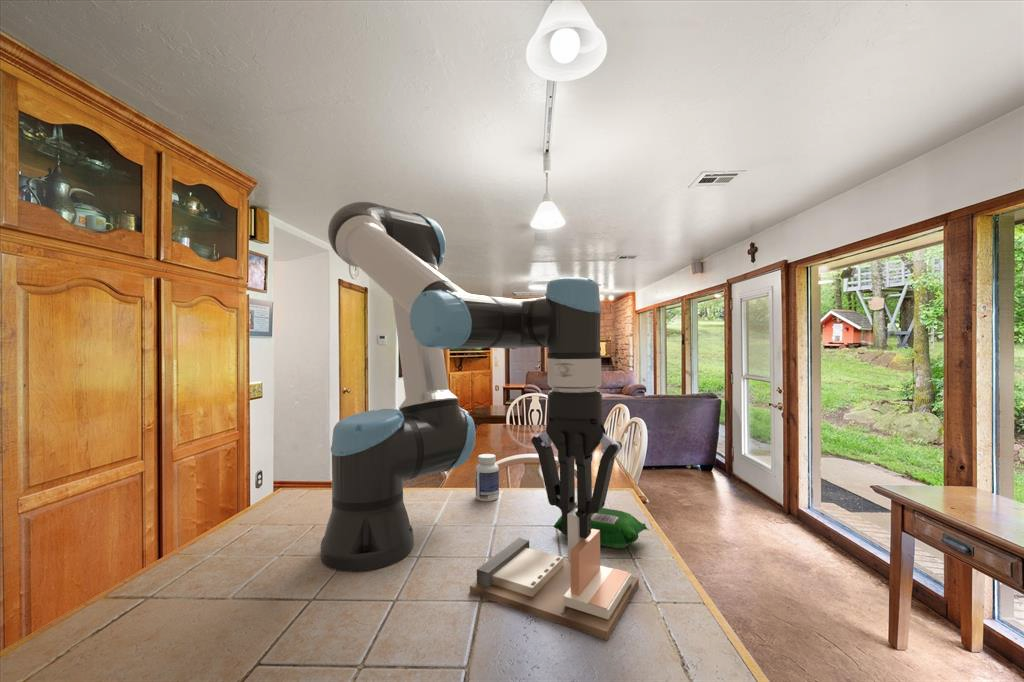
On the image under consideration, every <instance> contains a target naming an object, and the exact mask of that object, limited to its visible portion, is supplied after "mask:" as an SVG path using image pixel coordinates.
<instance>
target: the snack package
mask: <svg viewBox="0 0 1024 682" xmlns="http://www.w3.org/2000/svg"><path fill="white" fill-rule="evenodd" d="M573 508H577V504H576V505H575V506H574V507H573ZM553 528H555V529H557V530H558V531H559V532H560V533H561V534H562V535H563V536H564V537H566V538H567V539H568V535H566V534H563V532H562V515H560V517H559V518H558V519H557V521H556V522H555V524H554V525H553ZM591 529H597V530H600V547H601V546H603V547H607V548H613V549H625V548H626V547H627V546H628V545H630V544H631V543H634V542H636V541H637V540H638V539H639V534H640V533H641V532H643V531H644V530H648V531H649V530H650V528H649V529H648V528H647V526H646V523H642V522H640V521H639V520H638V519H637V518H636V517H635V516H633V514H631V513H629V512H626V511H622V510H618V509H611V508H605V507H603V508H602V509H600V510H599V511H598V512H597V513H591Z"/></svg>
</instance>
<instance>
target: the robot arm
mask: <svg viewBox="0 0 1024 682" xmlns="http://www.w3.org/2000/svg"><path fill="white" fill-rule="evenodd" d="M327 237H328V242H329V245H330V246H331V248H332V250H333V251H334V253H336V255H337V256H338V257H339V258H340V259H341V260H342V261H343V262H345V263H346V264H347V265H349V266H352V267H354V268H355V267H356V268H359V269H361V271H363V272H364V273H365V274H366V275H367V276H368V277H369V278H370V279H371V280H372V281H374V282H375V283H376V284H377V285H378V286H379V287H380V288H381V289H382V290H383V291H385V293H387V295H389V296H390V297H391V298H392V304H393V314H394V320H395V321H394V322H395V327H396V335H397V343H398V344H397V345H398V351H399V357H400V364H401V365H400V366H401V373H402V380H403V388H404V394H405V395H404V397H405V398H404V399H403V400H404V401H402V403H401V404H400V406H399V407H398V409H396V408H382V409H377V410H375V409H374V410H373V409H372V410H366V411H362V412H357V413H353V414H351V415H349V416H346V417H343V418H342V419H340V420H339V421H337V423H336V424H335V425H334V426H333V430H332V440H331V446H330V453H331V504H332V505H331V511H330V515H329V518H328V522H327V525H326V528H325V531H324V536H323V538H322V540H321V543H320V561H321V563H322V564H323V565H324V566H326V567H328V568H330V569H332V570H337V571H345V572H360V571H361V572H362V571H363V572H364V571H369V570H375V569H379V568H383V567H386V566H389V565H391V564H394V563H396V562H398V561H400V560H402V559H404V558H405V557H407V556H408V555H409V554H410V553H411V551H413V549H414V543H415V542H414V540H415V539H414V529H413V527H412V524H411V523H410V522H411V521H410V519H409V515H408V511H407V509H406V505H405V503H404V482H405V481H410V480H413V479H417V478H420V477H425V476H429V475H434V474H437V473H444V472H449V471H450V470H452V469H455V468H458V467H460V466H463V465H464V464H465V463H466V462H467V461H468V460H469V459H470V457H471V454H472V453H473V451H474V448H475V445H476V437H477V436H476V425H475V422H474V419H473V417H472V416H470V413H469V412H468V411H467V410H466V409H465V408H464V409H463V408H461V407H460V403H459V398H458V397H457V396H456V395H455V394H453V393H452V392H451V391H450V389H449V388H450V387H449V382H448V375H447V369H446V361H445V357H444V355H445V354H444V350H453V349H505V350H506V349H507V350H509V349H512V350H515V349H523V348H524V349H525V348H526V349H529V348H530V349H531V348H546V352H547V353H546V355H547V356H546V358H547V386H549V388H551V390H549V391H548V392H547V414H548V422H547V424H546V426H545V430H544V431H543V432H541V433H540V434H537V435H535V436H532V438H531V443H532V445H533V447H534V449H535V451H536V452H537V456H538V460H539V463H540V470H541V473H542V477H543V482H544V487H545V491H546V497H547V500H548V501H547V502H548V504H549V505H551V506H555V507H557V508H558V509H560V512H561V516H562V532H563V534H566V535H568V538H567V560H568V562H570V550H571V549H572V548H573V547H574V546H575V545H576V544H577V543H578V542H579V541H580V540H581V539H582V538H585V539H586V538H587V537H588V536H589V535H590V533H591V513H597V512H598V511H599V510H600V509H602V508H605V504H606V499H607V494H608V490H609V486H610V481H611V477H612V473H613V468H614V464H615V460H616V457H617V456H618V454H619V453H620V452H621V450H622V448H623V444H622V442H621V441H618V440H616V441H614V440H613V439H612V438H611V437H610V436H608V435H607V434H606V433H607V432H606V428H605V427H604V423H603V399H602V397H603V394H602V392H601V391H600V390H598V388H601V386H602V384H603V383H602V358H601V357H602V356H601V354H602V353H601V318H602V317H601V315H602V308H601V302H600V301H601V299H600V298H601V297H600V286H599V284H598V283H597V281H595V280H594V279H591V278H587V277H573V276H572V277H560V278H556V279H555V278H554V279H553V280H550V281H548V282H547V284H546V286H545V287H546V288H545V294H544V295H545V296H542V297H537V298H535V297H534V298H528V299H527V298H525V299H518V298H517V299H516V298H508V297H497V296H491V295H490V296H489V295H482V294H481V295H480V294H473V293H469V292H466V291H465V290H463V289H462V288H461V287H459V286H458V285H457V284H455V283H453V282H452V281H451V280H449V279H448V278H447V277H446V276H444V275H443V274H442V273H440V272H439V268H440V267H441V265H442V264H443V262H444V260H445V255H444V254H445V253H446V250H447V248H446V247H447V245H446V237H445V234H444V232H443V229H442V228H441V225H439V223H438V222H436V221H435V219H432V218H431V217H428V216H425V215H423V214H421V213H419V212H409V211H405V210H401V209H397V208H394V207H390V206H386V205H381V204H378V203H376V202H375V203H374V202H369V201H356V202H351V203H348V204H346V205H344V206H342V207H341V208H339V209H338V210H337V211H336V212H335V213H334V214H333V215H332V218H331V219H330V221H329V224H328V229H327ZM552 445H553V446H554V447H555V448H556V451H557V461H558V463H559V470H558V468H557V467H558V466H557V462H556V458H555V453H554V450H553V448H552ZM599 445H601V447H600V451H601V454H602V455H601V458H600V459H599V464H598V469H597V474H596V479H595V484H594V488H593V486H592V485H593V477H592V462H593V453H594V452H595V450H596V449H597V448H598V446H599ZM575 465H576V474H575ZM558 471H559V472H558ZM575 475H576V478H575ZM575 479H576V480H575ZM575 481H576V483H575ZM575 484H576V488H575ZM575 489H576V491H575ZM575 492H576V494H575ZM576 495H577V496H576ZM576 499H577V501H576ZM575 505H577V508H573V507H574V506H575ZM562 532H561V533H562ZM563 534H562V535H563Z"/></svg>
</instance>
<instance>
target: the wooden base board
mask: <svg viewBox="0 0 1024 682" xmlns="http://www.w3.org/2000/svg"><path fill="white" fill-rule="evenodd" d="M639 584H640V583H639V577H636V576H633V575H631V583H630V585H629V587H628V588H627V590H626V592H625V593H624V595H623V597H622V598H621V600H620V602H619V603H618V605H617V606H616V608H615V610H614V611H613V613H612V615H611V616H610V618H609V620H608V619H605V618H602V617H598V616H595V615H592V614H589V613H586V612H583V611H580V610H577V609H573V608H570V607H567V606H564V605H563V596H564V595H565V593H566V592H567V591H568V590H569V589H570V587H571V569H570V562H568V558H564V557H563V556H559V555H555V554H553V553H552V554H551V553H548V552H544V551H539V550H537V549H533V548H530V540H529V539H525V538H521V537H518V538H517V539H515V540H514V541H513V542H511V543H510V544H508V545H507V546H506V547H504V548H503V549H502V550H500V551H499V552H498V553H497V554H495V555H494V556H492V557H491V558H490V559H488V560H487V561H486V562H484V563H483V564H482V565H481V566H479V567H478V568H477V569H476V580H475V581H474V582H473V583H471V584H470V585H469V593H470V594H471V595H475V596H478V597H480V598H484V599H486V600H489V601H492V602H495V603H498V604H500V605H503V606H506V607H508V608H512V609H515V610H518V611H520V612H523V613H527V614H529V615H533V616H535V617H538V618H542V619H544V620H547V621H551V622H552V623H555V624H559V625H562V626H565V627H567V628H571V629H574V630H576V631H579V632H582V633H584V634H588V635H590V636H594V637H596V638H600V639H602V640H605V641H608V640H609V638H610V637H611V634H612V633H613V631H614V629H615V627H616V625H617V624H618V622H619V620H620V618H621V616H622V615H623V613H624V612H625V610H626V608H627V607H628V605H629V603H630V602H631V599H632V597H634V594H635V592H636V590H637V588H638V586H639Z"/></svg>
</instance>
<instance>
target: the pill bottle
mask: <svg viewBox="0 0 1024 682" xmlns="http://www.w3.org/2000/svg"><path fill="white" fill-rule="evenodd" d="M477 459H478V461H477V462H478V464H477V465H476V466H475V498H476V500H478V501H481V502H492V501H495V500H496V501H497V500H498V499H499V497H500V486H499V485H500V469H499V468H500V467H499V465H498V464H497V463H496V459H497V457H496V455H495V454H493V453H483V454H479V455H478V458H477Z"/></svg>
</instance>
